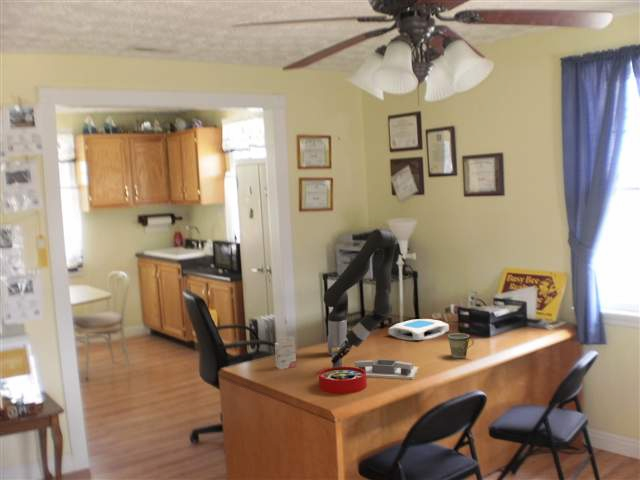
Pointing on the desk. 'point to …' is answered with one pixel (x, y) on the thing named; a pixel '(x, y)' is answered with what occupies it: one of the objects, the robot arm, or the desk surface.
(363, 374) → the toy clock
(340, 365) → the gold lidded jar
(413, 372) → the shaft rig
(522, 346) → the desk surface
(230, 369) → the desk surface
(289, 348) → the ink cartridge box
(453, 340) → the ceramic cup
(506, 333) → the desk surface
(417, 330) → the white blue plastic platform
